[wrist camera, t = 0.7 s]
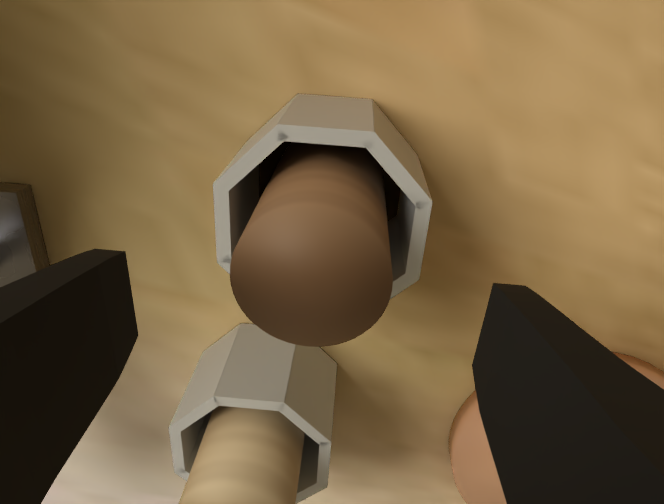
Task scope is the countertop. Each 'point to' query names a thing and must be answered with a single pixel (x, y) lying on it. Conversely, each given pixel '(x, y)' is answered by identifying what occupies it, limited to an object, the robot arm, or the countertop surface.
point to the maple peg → (246, 459)
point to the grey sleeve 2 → (261, 397)
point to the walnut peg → (316, 248)
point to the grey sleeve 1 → (331, 129)
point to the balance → (19, 234)
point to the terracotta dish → (474, 451)
